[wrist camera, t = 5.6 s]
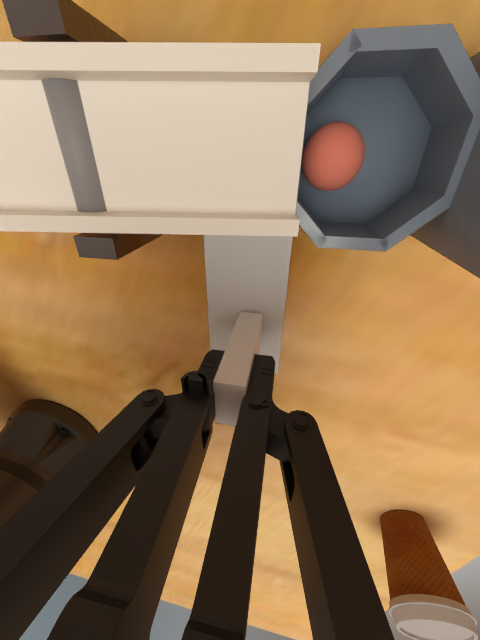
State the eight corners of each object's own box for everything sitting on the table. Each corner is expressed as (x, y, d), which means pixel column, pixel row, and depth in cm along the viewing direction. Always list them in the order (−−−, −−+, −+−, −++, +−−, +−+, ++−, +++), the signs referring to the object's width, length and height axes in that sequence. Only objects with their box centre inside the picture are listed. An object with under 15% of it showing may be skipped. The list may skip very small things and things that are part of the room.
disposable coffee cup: (396, 496, 40) (431, 612, 29) (451, 520, 40) (504, 641, 30) (356, 519, 45) (375, 625, 34) (406, 540, 45) (438, 650, 35)
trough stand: (142, 224, 25) (54, 259, 16) (116, 69, 20) (-43, -15, 10) (203, 227, 24) (147, 266, 15) (194, 66, 19) (96, -29, 10)
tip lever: (6, 353, 22) (-34, 384, 19) (-153, 60, 13) (-282, 27, 10) (275, 360, 21) (280, 393, 18) (306, 62, 12) (325, 30, 9)
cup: (276, 228, 23) (252, 318, 10) (289, 66, 18) (274, -230, 4) (418, 235, 22) (623, 355, 8) (478, 59, 16) (1376, -446, 3)
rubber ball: (369, 192, 18) (330, 187, 21) (386, 120, 16) (340, 126, 19) (323, 194, 17) (287, 189, 20) (335, 114, 15) (294, 122, 18)
